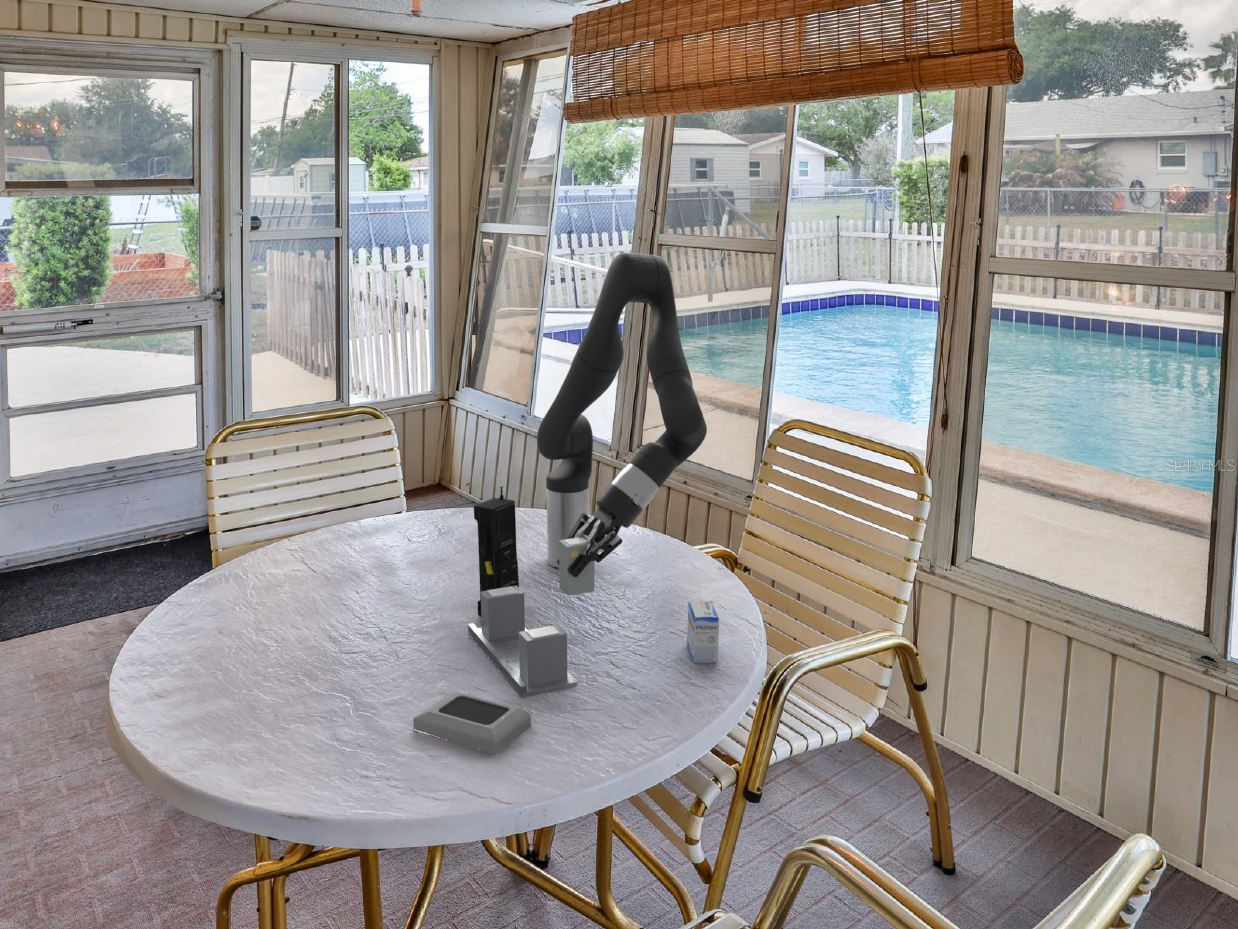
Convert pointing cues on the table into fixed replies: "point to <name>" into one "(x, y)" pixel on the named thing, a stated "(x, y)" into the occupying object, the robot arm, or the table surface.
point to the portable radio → (496, 544)
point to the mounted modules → (525, 635)
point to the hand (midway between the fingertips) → (566, 569)
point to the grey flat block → (473, 722)
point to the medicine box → (702, 632)
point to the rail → (514, 664)
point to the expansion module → (567, 555)
